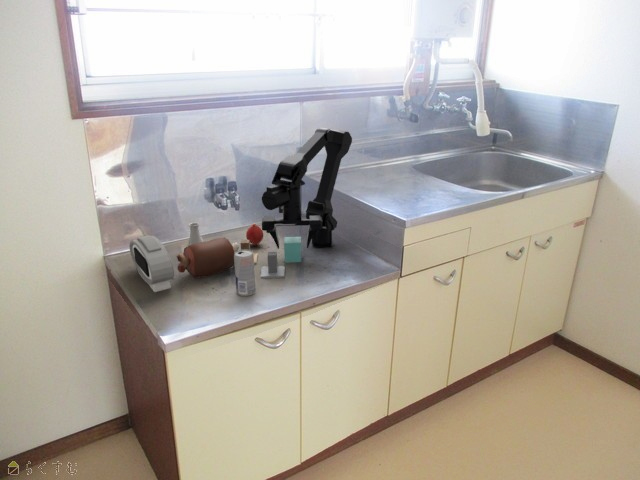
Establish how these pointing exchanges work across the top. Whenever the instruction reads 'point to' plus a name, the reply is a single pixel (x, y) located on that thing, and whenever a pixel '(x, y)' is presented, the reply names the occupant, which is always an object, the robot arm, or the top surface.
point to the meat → (207, 257)
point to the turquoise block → (292, 249)
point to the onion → (254, 234)
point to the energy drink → (244, 272)
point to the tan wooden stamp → (248, 248)
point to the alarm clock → (152, 262)
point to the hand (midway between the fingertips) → (293, 248)
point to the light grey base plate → (272, 267)
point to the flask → (194, 234)
